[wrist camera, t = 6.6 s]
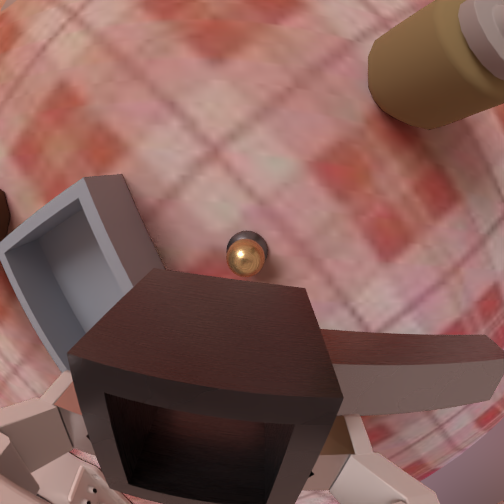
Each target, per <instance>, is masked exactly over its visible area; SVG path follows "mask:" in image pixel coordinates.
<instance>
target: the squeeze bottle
mask: <svg viewBox="0 0 504 504" xmlns="http://www.w3.org/2000/svg"><path fill="white" fill-rule="evenodd" d="M368 87H369V90H370V92H371V94H372V97H373V99H374V101H375V102H376V103H377V104H378V105H379V107H380V108H381V109H382V110H383V111H384V112H386V113H387V114H389V115H391V116H392V117H394V118H396V119H398V120H400V121H402V122H404V123H406V124H409V125H411V126H415V127H420V128H424V129H429V130H430V129H434V128H437V127H441V126H445V125H448V124H450V123H453V122H455V121H458V120H460V119H463V118H466V117H468V116H471V115H473V114H476V113H479V112H481V111H484V110H487V109H489V108H492V107H495V106H498V105H500V104H503V103H504V0H435V1H433V2H432V3H430V4H429V5H427V6H425V7H424V8H422V9H421V10H419V11H418V12H416V13H415V14H413V15H412V16H410V17H408V18H407V19H405V20H404V21H403V22H401V23H400V24H398V25H397V26H395V27H394V28H392V29H391V30H389V31H388V32H387V33H385V34H384V35H382V36H381V37H380V38H378V39H377V40H375V42H374V44H373V46H372V49H371V51H370V54H369V56H368Z"/></svg>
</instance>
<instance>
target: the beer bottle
mask: <svg viewBox="0 0 504 504" xmlns="http://www.w3.org/2000/svg"><path fill="white" fill-rule="evenodd" d="M9 219H10V214H9V210H8V206H7V202H6V198H5V194H4V192H3V191H2V190H1V189H0V242H1V241H2V240H3V239H4V238H6V234H7V229H8V224H9Z"/></svg>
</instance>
